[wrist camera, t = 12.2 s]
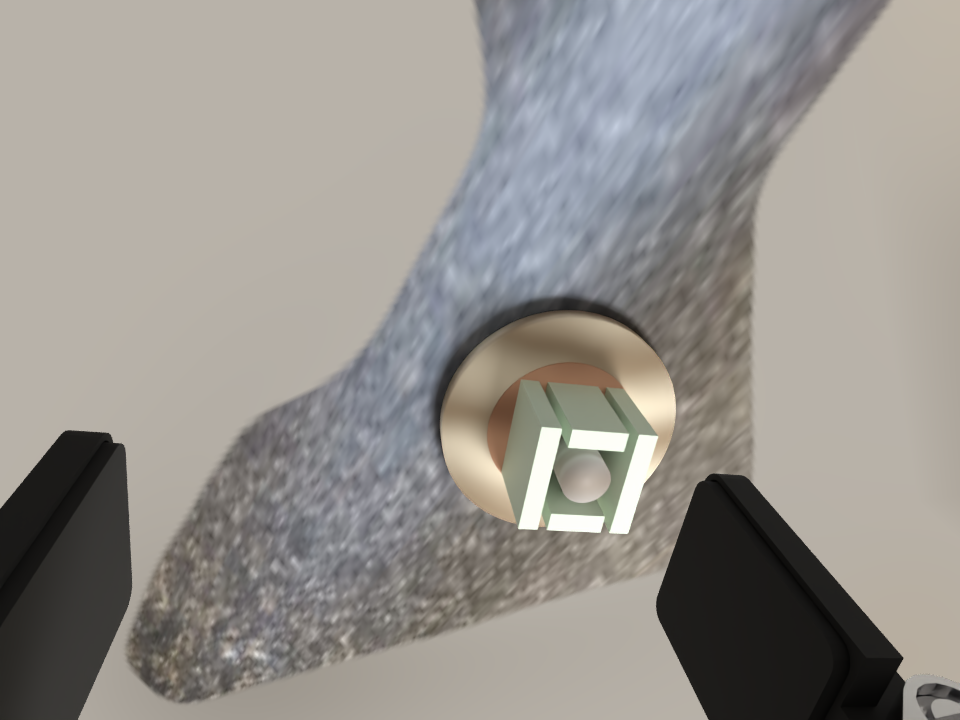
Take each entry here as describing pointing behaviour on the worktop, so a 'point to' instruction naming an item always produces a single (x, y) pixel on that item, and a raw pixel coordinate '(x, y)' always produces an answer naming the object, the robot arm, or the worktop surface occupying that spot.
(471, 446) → the post base
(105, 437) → the robot arm
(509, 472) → the collar
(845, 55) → the worktop surface
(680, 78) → the worktop surface
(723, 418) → the worktop surface
